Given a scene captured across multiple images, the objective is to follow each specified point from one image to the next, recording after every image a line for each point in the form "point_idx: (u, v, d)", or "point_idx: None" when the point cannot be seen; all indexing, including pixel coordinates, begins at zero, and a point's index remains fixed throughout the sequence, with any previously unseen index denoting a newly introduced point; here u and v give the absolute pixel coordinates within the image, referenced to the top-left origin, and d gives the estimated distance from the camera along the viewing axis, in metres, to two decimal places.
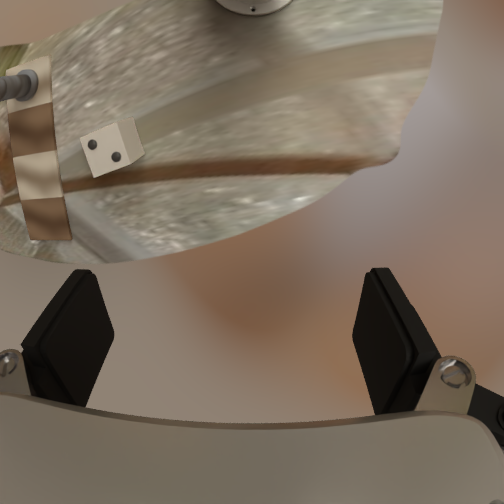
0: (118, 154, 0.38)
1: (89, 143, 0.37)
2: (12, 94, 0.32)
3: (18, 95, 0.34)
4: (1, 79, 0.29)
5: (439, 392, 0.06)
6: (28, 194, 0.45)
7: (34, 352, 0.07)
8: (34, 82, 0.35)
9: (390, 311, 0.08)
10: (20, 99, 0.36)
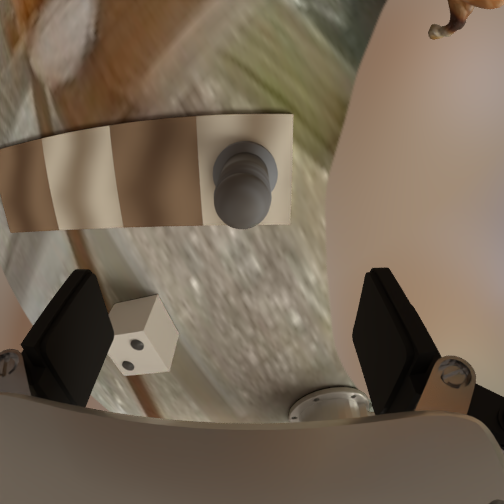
0: (131, 369, 0.32)
1: (137, 342, 0.30)
2: None
3: None
4: None
5: (439, 392, 0.06)
6: (52, 159, 0.26)
7: (34, 352, 0.07)
8: None
9: (390, 311, 0.08)
10: (217, 166, 0.26)
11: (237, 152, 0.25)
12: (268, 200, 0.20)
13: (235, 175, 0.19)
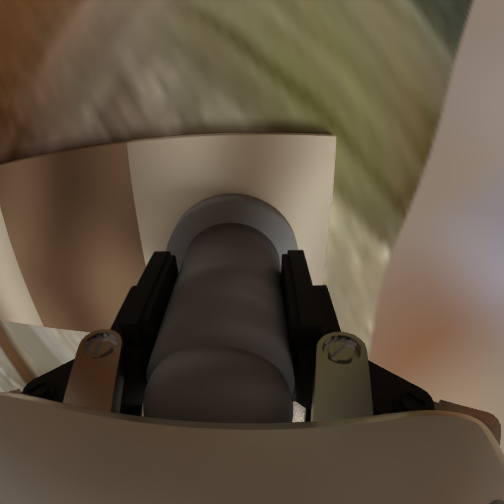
0: None
1: None
2: None
3: None
4: None
5: (332, 373, 0.06)
6: None
7: (134, 330, 0.08)
8: None
9: (289, 287, 0.09)
10: (174, 250, 0.13)
11: (214, 223, 0.12)
12: None
13: (190, 371, 0.06)
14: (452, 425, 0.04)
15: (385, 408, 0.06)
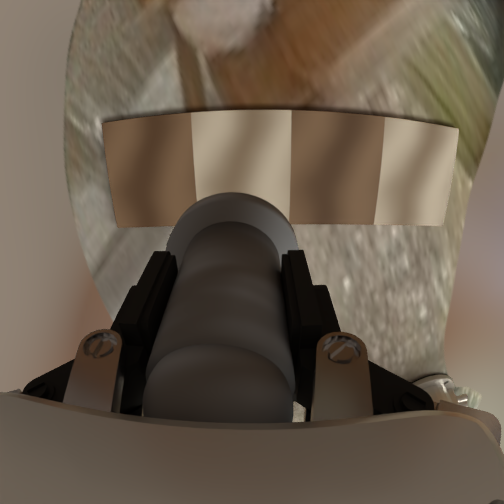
0: None
1: None
2: None
3: None
4: None
5: (332, 373, 0.06)
6: (204, 140, 0.25)
7: (134, 330, 0.08)
8: None
9: (289, 287, 0.09)
10: (174, 249, 0.12)
11: (214, 221, 0.12)
12: None
13: (190, 369, 0.06)
14: (452, 425, 0.04)
15: (385, 408, 0.06)
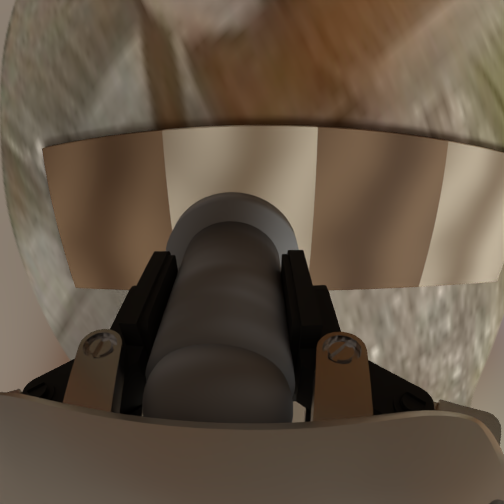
0: None
1: None
2: None
3: None
4: None
5: (332, 373, 0.06)
6: (183, 173, 0.17)
7: (134, 330, 0.08)
8: None
9: (289, 287, 0.09)
10: (174, 249, 0.12)
11: (214, 221, 0.12)
12: None
13: (189, 369, 0.06)
14: (452, 425, 0.04)
15: (385, 408, 0.06)
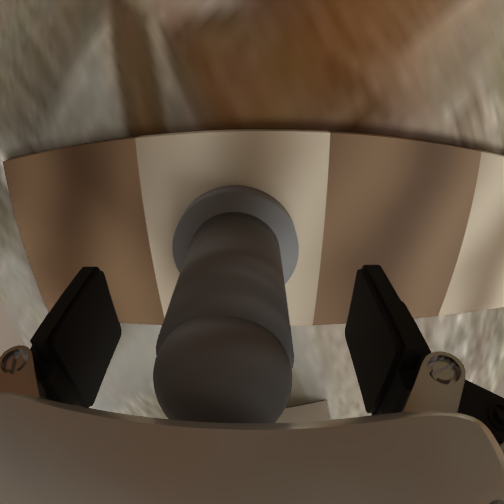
0: None
1: None
2: None
3: None
4: None
5: (429, 388, 0.06)
6: (162, 190, 0.13)
7: (44, 348, 0.07)
8: None
9: (380, 307, 0.08)
10: (181, 238, 0.13)
11: (218, 212, 0.13)
12: (288, 392, 0.07)
13: (199, 336, 0.07)
14: (452, 425, 0.04)
15: (483, 421, 0.05)
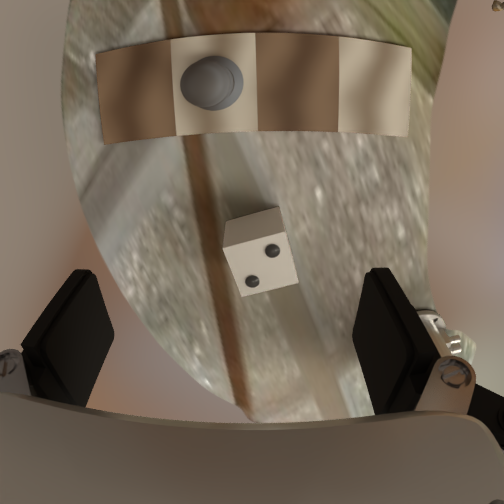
0: (255, 285, 0.32)
1: (274, 246, 0.30)
2: None
3: None
4: (223, 98, 0.21)
5: (439, 392, 0.06)
6: (181, 60, 0.26)
7: (34, 352, 0.07)
8: (214, 109, 0.28)
9: (390, 311, 0.08)
10: None
11: None
12: (227, 78, 0.20)
13: (198, 61, 0.20)
14: (452, 425, 0.04)
15: (492, 425, 0.05)
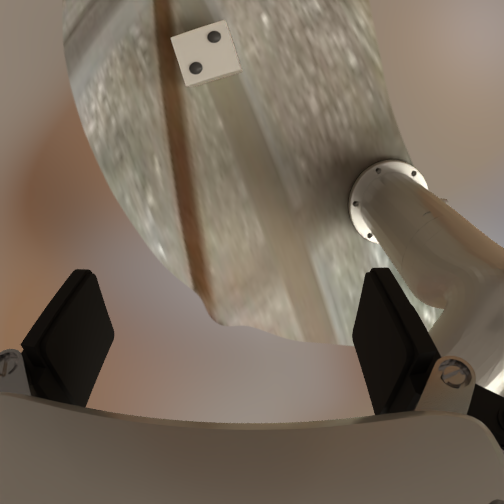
0: (199, 71, 0.29)
1: (216, 33, 0.27)
2: None
3: None
4: None
5: (439, 392, 0.06)
6: None
7: (34, 352, 0.07)
8: None
9: (390, 311, 0.08)
10: None
11: None
12: None
13: None
14: (452, 425, 0.04)
15: (492, 425, 0.05)
